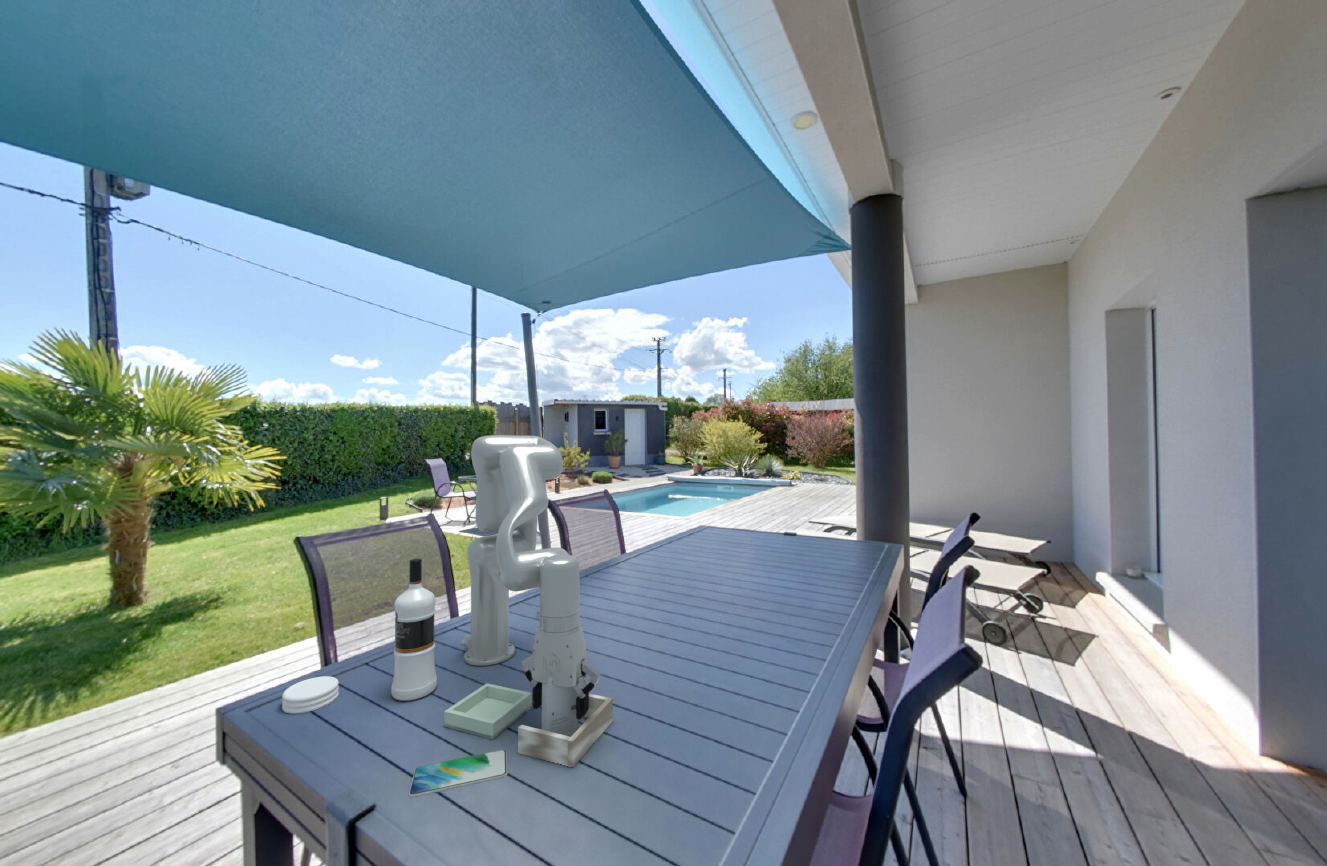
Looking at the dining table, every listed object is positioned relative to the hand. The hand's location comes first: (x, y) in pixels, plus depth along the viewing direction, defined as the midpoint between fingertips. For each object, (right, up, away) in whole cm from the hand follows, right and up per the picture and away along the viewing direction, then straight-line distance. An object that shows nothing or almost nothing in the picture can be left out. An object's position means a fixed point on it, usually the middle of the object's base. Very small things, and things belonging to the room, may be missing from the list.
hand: (560, 710), depth 92 cm
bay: (+2, -4, -1) cm, 5 cm away
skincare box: (0, -5, 0) cm, 5 cm away
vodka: (-37, -5, +16) cm, 40 cm away
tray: (-16, -5, +6) cm, 18 cm away
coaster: (-57, -6, +13) cm, 59 cm away
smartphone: (-15, -5, -11) cm, 19 cm away
